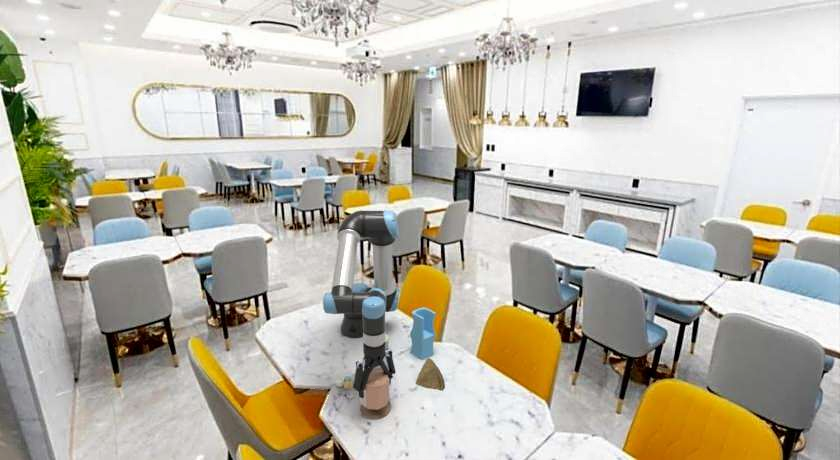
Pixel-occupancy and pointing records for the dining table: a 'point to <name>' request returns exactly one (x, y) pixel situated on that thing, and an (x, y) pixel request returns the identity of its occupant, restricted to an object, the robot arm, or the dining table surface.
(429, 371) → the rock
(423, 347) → the blue notched block
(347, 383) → the marble amber
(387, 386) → the cup terracotta
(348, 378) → the marble teal
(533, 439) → the dining table surface
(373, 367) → the robot arm
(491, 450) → the dining table surface
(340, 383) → the marble white
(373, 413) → the coaster
